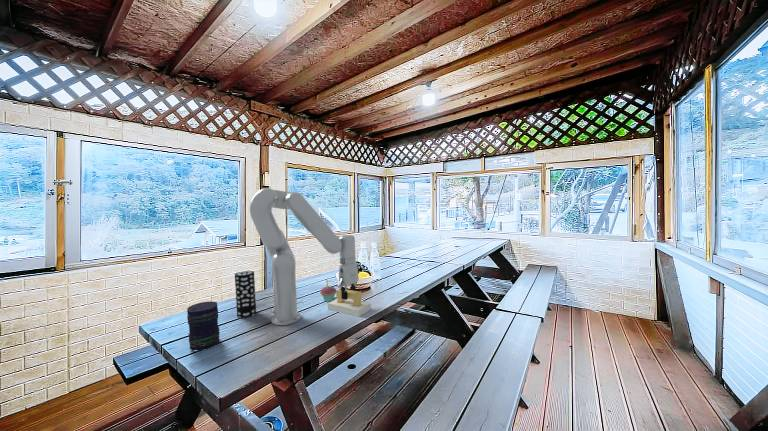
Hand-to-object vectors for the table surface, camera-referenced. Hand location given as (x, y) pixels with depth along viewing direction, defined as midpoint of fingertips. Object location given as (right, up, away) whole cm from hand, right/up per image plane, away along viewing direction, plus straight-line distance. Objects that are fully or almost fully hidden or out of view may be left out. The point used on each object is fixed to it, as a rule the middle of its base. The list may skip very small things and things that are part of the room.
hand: (348, 296), depth 139 cm
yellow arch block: (0, -6, 0) cm, 6 cm away
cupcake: (-13, -6, +14) cm, 20 cm away
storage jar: (-51, -10, -30) cm, 60 cm away
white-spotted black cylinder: (-49, -8, -3) cm, 49 cm away
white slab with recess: (0, -6, 0) cm, 6 cm away
